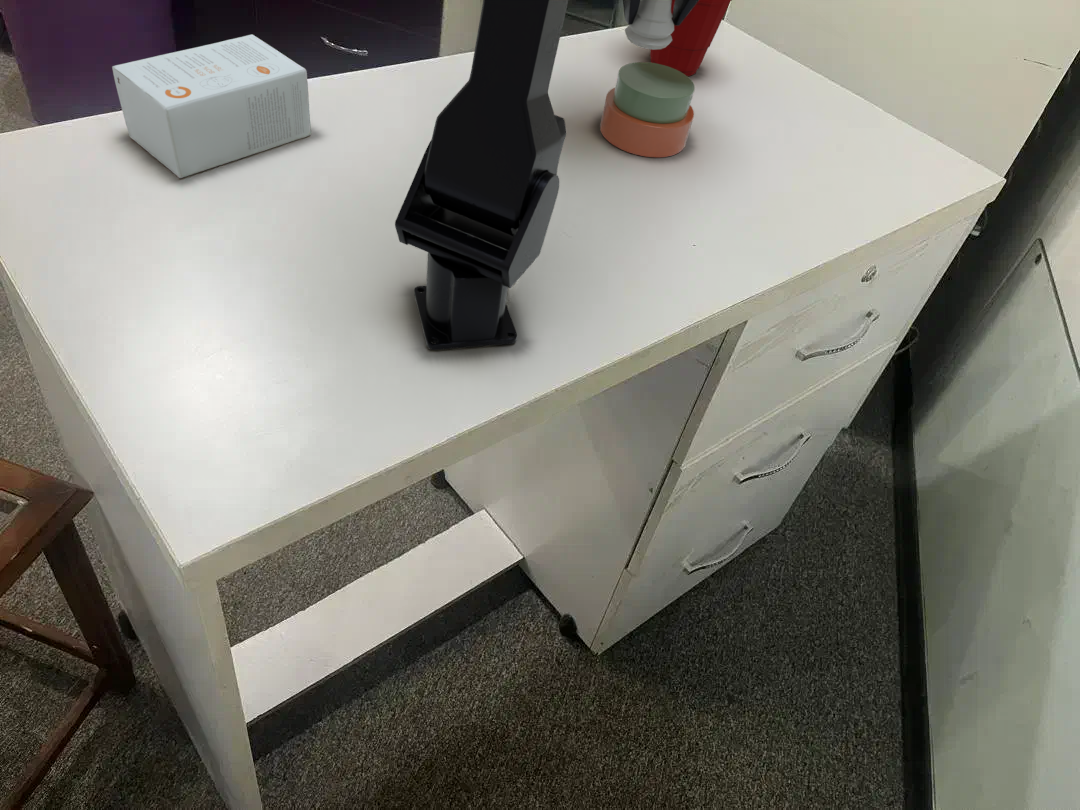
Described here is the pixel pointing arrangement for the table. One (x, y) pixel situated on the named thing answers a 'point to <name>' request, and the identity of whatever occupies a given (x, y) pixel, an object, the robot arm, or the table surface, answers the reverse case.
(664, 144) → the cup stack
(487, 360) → the table surface
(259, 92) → the small box
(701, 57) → the plastic cup
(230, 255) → the table surface
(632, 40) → the rook chess piece
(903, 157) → the table surface
